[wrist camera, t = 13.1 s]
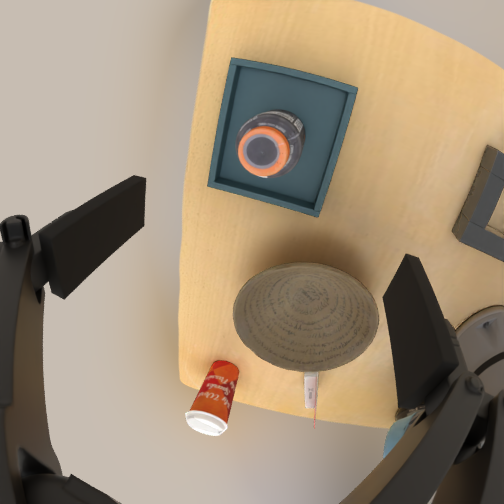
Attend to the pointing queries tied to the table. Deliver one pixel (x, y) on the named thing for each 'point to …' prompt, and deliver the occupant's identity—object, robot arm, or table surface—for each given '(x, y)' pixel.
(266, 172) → the pill bottle
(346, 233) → the table surface
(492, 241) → the block
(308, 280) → the bowl
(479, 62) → the table surface
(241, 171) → the tray
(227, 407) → the paper cup
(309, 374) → the ink box
